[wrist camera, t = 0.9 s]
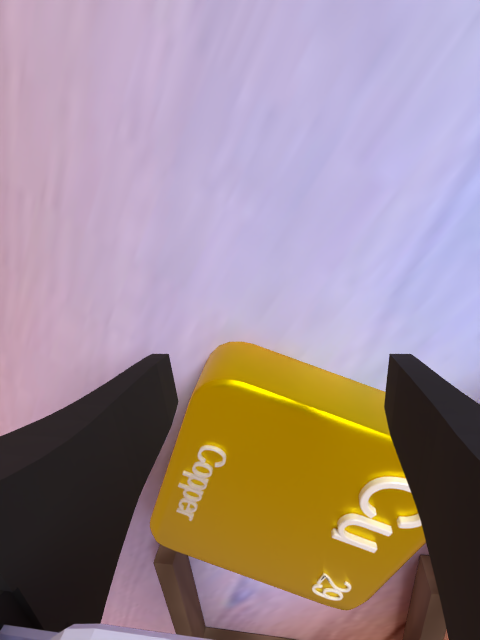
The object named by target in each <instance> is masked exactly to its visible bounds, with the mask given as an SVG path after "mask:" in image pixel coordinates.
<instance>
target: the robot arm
mask: <svg viewBox="0 0 480 640" xmlns="http://www.w3.org/2000/svg"><path fill="white" fill-rule="evenodd" d="M177 405H178V398H177V393H176V388H175V383H174V378H173V373H172V368H171V363H170V358H169V354H151V355H149V356H147V357H146V358H144V359H142V360H141V361H139V362H137V363H136V364H134V365H133V366H131V367H130V368H128V369H127V370H125V371H124V372H122V373H121V374H119V375H118V376H116V377H115V378H113V379H112V380H110V381H109V382H107V383H106V384H104V385H102V386H101V387H99V388H97V389H96V390H94V391H92V392H91V393H89V394H87V395H86V396H84V397H83V398H81V399H79V400H77V401H76V402H74V403H72V404H70V405H68V406H67V407H65V408H63V409H61V410H59V411H57V412H55V413H53V414H51V415H49V416H47V417H45V418H43V419H40V420H38V421H36V422H33V423H31V424H29V425H26V426H24V427H22V428H20V429H17V430H15V431H13V432H10V433H8V434H5V435H3V436H0V640H212V639H205V638H198V637H191V636H184V635H177V634H170V633H163V632H156V631H149V630H142V629H135V628H128V627H120V626H113V625H106V624H100V623H101V619H102V616H103V612H104V608H105V604H106V600H107V597H108V593H109V590H110V586H111V583H112V580H113V576H114V573H115V569H116V566H117V562H118V559H119V556H120V553H121V550H122V546H123V543H124V540H125V537H126V534H127V531H128V528H129V525H130V522H131V519H132V516H133V513H134V510H135V507H136V504H137V502H138V499H139V496H140V494H141V491H142V489H143V487H144V484H145V482H146V480H147V478H148V476H149V474H150V471H151V469H152V467H153V465H154V463H155V461H156V459H157V456H158V454H159V452H160V450H161V448H162V446H163V443H164V441H165V439H166V437H167V435H168V432H169V430H170V428H171V425H172V422H173V419H174V415H175V412H176V408H177ZM384 409H385V414H386V418H387V423H388V428H389V432H390V436H391V439H392V442H393V444H394V447H395V450H396V453H397V456H398V458H399V461H400V464H401V466H402V469H403V472H404V475H405V477H406V480H407V483H408V485H409V488H410V491H411V493H412V496H413V499H414V502H415V504H416V508H417V511H418V514H419V517H420V520H421V524H422V528H423V532H424V536H425V540H426V544H427V547H428V551H429V555H430V559H431V564H432V568H433V572H434V576H435V580H436V584H437V588H438V593H439V597H440V601H441V606H442V610H443V615H444V619H445V624H446V628H447V633H448V637H449V640H480V404H478V403H477V402H475V401H474V400H472V399H471V398H469V397H468V396H466V395H465V394H464V393H462V392H461V391H459V390H458V389H457V388H455V387H454V386H453V385H451V384H450V383H448V382H447V381H446V380H444V379H443V378H442V377H440V376H439V375H438V374H437V373H435V372H434V371H433V370H431V369H430V368H429V367H428V366H426V365H425V364H424V363H422V362H421V361H420V360H418V359H417V358H416V357H414V356H413V355H411V354H390V356H389V365H388V375H387V384H386V393H385V403H384Z"/></svg>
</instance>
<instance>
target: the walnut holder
mask: <svg viewBox="0 0 480 640" xmlns="http://www.w3.org/2000/svg"><path fill="white" fill-rule="evenodd" d="M154 566H155V569H156V572H157V575H158V578H159V581H160V585H161V588H162V591H163V594H164V597H165V600H166V603H167V607H168V610H169V613H170V616H171V619H172V622H173V625H174V629H175V632H176V634H177V635H184V636H191V637H198V638H205V639H212V640H294V639H287V638H280V637H272V636H265V635H258V634H251V633H244V632H237V631H230V630H223V629H216V628H209V627H205V623H204V619H203V615H202V611H201V607H200V602H199V598H198V594H197V590H196V586H195V582H194V578H193V574H192V570H191V566H190V562H189V558H188V555H185V554H182V553H180V552H177V551H174V550H172V549H169V548H167V547H165V546H163V545H161V544H160V546H159V549H158V551H157V554H156V557H155V560H154ZM446 629H447V628H446V624H445V619H444V615H443V610H442V606H441V601H440V597H439V593H438V588H437V584H436V580H435V576H434V572H433V568H432V564H431V559H430V556H427V555H420V558H419V563H418V568H417V573H416V578H415V582H414V587H413V592H412V597H411V602H410V606H409V611H408V616H407V621H406V626H405V630H404V635H403V640H443V639H444V636H445V632H446Z"/></svg>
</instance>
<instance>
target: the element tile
mask: <svg viewBox="0 0 480 640" xmlns="http://www.w3.org/2000/svg"><path fill="white" fill-rule="evenodd" d="M385 393H386V392H384V391H381V390H378V389H376V388H373V387H370V386H367V385H365V384H362V383H359V382H356V381H354V380H351V379H348V378H345V377H343V376H340V375H337V374H334V373H332V372H329V371H326V370H323V369H321V368H318V367H315V366H312V365H310V364H307V363H304V362H301V361H299V360H296V359H293V358H290V357H288V356H285V355H282V354H279V353H277V352H274V351H271V350H268V349H266V348H263V347H260V346H257V345H254V344H251V343H246V342H228V343H225V344H223V345H220V346H218V347H217V348H216V349H215V350H214V351H213V352H212V353H211V354H210V356H209V358H208V360H207V362H206V364H205V366H204V369H203V371H202V373H201V375H200V378H199V380H198V382H197V384H196V387H195V389H194V391H193V393H192V396H191V398H190V401H189V404H188V407H187V410H186V413H185V416H184V419H183V422H182V425H181V428H180V431H179V434H178V437H177V440H176V443H175V446H174V449H173V452H172V455H171V458H170V461H169V464H168V467H167V470H166V473H165V476H164V479H163V482H162V485H161V488H160V491H159V495H158V498H157V501H156V504H155V507H154V510H153V513H152V516H151V519H150V529H151V532H152V534H153V536H154V538H155V540H156V541H157V542H158V543H159V544H161V545H163V546H165V547H167V548H169V549H172V550H174V551H177V552H180V553H182V554H185V555H188V556H191V557H193V558H196V559H199V560H202V561H204V562H207V563H210V564H213V565H216V566H218V567H221V568H224V569H227V570H229V571H232V572H235V573H238V574H241V575H243V576H246V577H249V578H252V579H254V580H257V581H260V582H263V583H265V584H268V585H271V586H274V587H277V588H279V589H282V590H285V591H288V592H290V593H293V594H296V595H299V596H302V597H304V598H307V599H310V600H313V601H315V602H318V603H321V604H324V605H327V606H330V607H334V608H337V609H341V610H350V609H353V608H355V607H357V606H359V605H361V604H363V603H364V602H366V601H367V600H369V599H370V598H371V597H372V596H373V595H374V594H375V593H376V592H377V591H378V590H379V589H380V588H381V587H382V586H383V585H384V584H385V583H386V582H387V581H388V580H389V579H390V578H391V577H392V576H393V575H394V574H395V573H396V572H397V571H398V570H399V569H400V568H401V567H402V566H403V565H404V564H405V563H406V562H407V561H408V560H409V559H410V558H411V557H412V556H413V555H414V554H415V553H416V552H417V551H418V550H419V549H420V548H421V547H422V546H423V545H424V544H425V543H426V540H425V536H424V532H423V528H422V524H421V520H420V517H419V514H418V511H417V508H416V504H415V502H414V499H413V496H412V493H411V491H410V488H409V485H408V483H407V480H406V477H405V475H404V472H403V469H402V466H401V464H400V461H399V458H398V456H397V453H396V450H395V447H394V444H393V442H392V439H391V436H390V432H389V428H388V423H387V418H386V414H385V409H384V403H385Z"/></svg>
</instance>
